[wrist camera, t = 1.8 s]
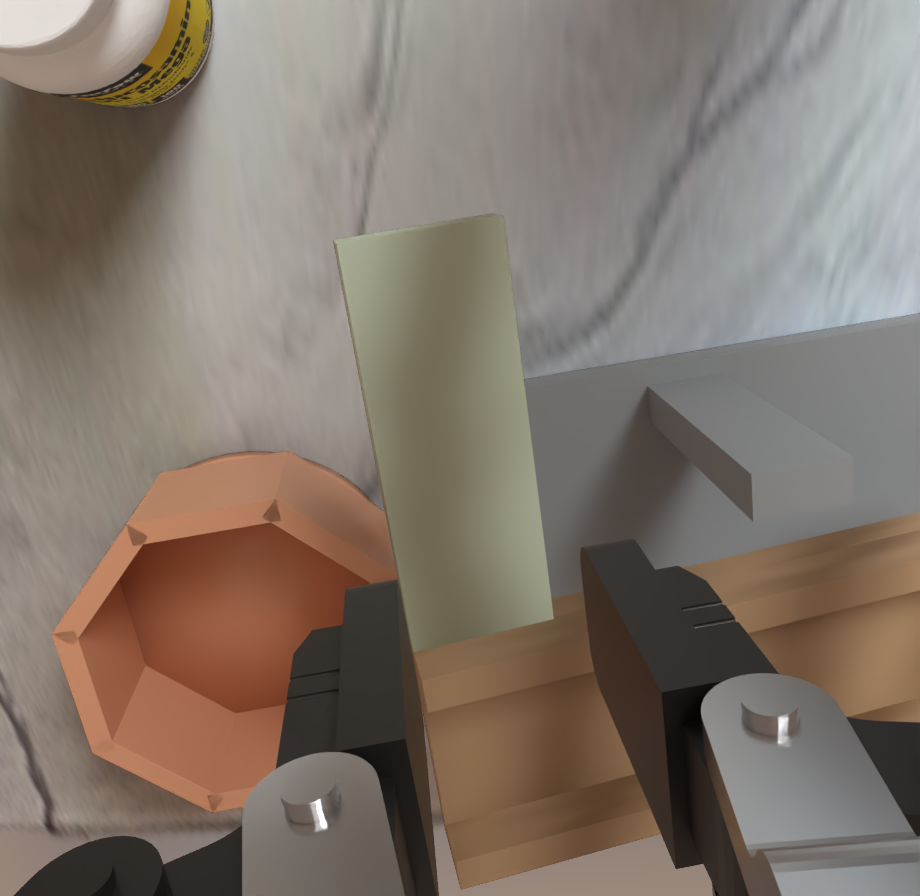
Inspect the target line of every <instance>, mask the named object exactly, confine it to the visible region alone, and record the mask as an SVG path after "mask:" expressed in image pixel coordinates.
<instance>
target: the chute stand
mask: <svg viewBox="0 0 920 896" xmlns="http://www.w3.org/2000/svg"><path fill="white" fill-rule="evenodd" d="M524 385H525V393H526V401H527V409H528V417H529V425H530V433H531V441H532V449H533V457H534V465H535V473H536V481H537V489H538V497H539V505H540V512H541V520H542V528H543V536H544V544H545V552H546V560H547V568H548V576H549V584H550V592H551V599H552V598H557V597H561V596H565V595H569V594H574V593H578V592H582V591H583V583H582V574H581V564H580V550H581V547H585V546H591V545H597V544H602V543H608V542H614V541H619V540H625V539H631V538H633V539H635V541H636V542H637V543H638V545H639V546H640V548H641V549H642V551H643V552H644V554H645V555H646V557H647V558H648V560H649V561H650V563H651V564H652V566H653V567H654V569H655V570H656V569H661V568H667V567H673V566H680V567H682V568H684V567H688V566H693V565H697V564H701V563H705V562H710V561H714V560H718V559H722V558H727V557H731V556H735V555H739V554H744V553H748V552H752V551H756V550H761V549H765V548H769V547H773V546H778V545H782V544H786V543H790V542H795V541H799V540H803V539H807V538H812V537H816V536H820V535H824V534H829V533H833V532H837V531H841V530H846V529H850V528H854V527H858V526H863V525H867V524H871V523H875V522H880V521H884V520H888V519H892V518H897V517H901V516H905V515H909V514H914V513H918V512H920V313H919V314H913V315H907V316H901V317H895V318H889V319H883V320H877V321H871V322H865V323H859V324H853V325H847V326H841V327H835V328H829V329H823V330H817V331H811V332H805V333H799V334H793V335H787V336H782V337H776V338H770V339H764V340H758V341H752V342H746V343H740V344H734V345H728V346H722V347H716V348H710V349H704V350H698V351H692V352H686V353H680V354H674V355H668V356H662V357H656V358H650V359H644V360H638V361H632V362H626V363H620V364H614V365H608V366H602V367H596V368H590V369H584V370H578V371H572V372H566V373H560V374H554V375H548V376H542V377H536V378H530V379H524Z"/></svg>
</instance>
